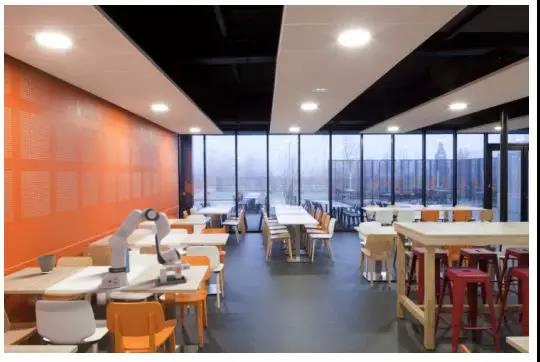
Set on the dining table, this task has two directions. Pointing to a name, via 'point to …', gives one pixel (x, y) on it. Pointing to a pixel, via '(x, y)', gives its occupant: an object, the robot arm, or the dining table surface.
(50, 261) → the plant pot
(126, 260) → the gum box
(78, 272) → the dining table surface
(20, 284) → the dining table surface
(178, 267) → the labelled box
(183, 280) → the charcoal tray
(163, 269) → the plain box
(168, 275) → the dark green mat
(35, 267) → the dining table surface
